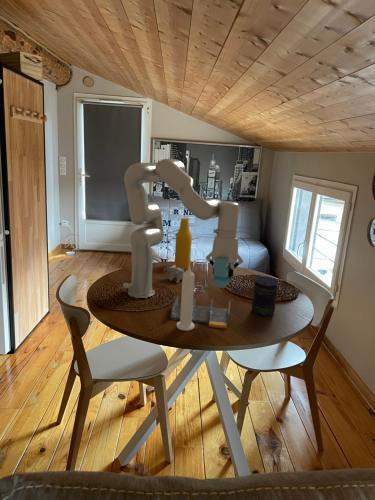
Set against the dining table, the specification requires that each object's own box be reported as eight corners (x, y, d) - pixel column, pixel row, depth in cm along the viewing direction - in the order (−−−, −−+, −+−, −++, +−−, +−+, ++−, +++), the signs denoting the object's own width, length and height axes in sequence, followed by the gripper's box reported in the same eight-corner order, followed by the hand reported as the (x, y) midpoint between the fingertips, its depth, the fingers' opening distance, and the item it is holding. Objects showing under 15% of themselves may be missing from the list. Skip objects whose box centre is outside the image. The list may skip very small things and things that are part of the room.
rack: (169, 321, 144) (170, 310, 142) (176, 305, 159) (177, 294, 158) (228, 328, 141) (229, 317, 140) (229, 311, 157) (230, 300, 155)
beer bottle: (192, 268, 210) (196, 219, 202) (179, 270, 206) (181, 220, 198) (185, 263, 218) (187, 216, 210) (171, 265, 213) (173, 217, 206)
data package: (223, 289, 140) (226, 260, 137) (212, 287, 142) (214, 258, 138) (231, 280, 151) (233, 252, 148) (220, 278, 153) (223, 251, 149)
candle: (176, 322, 144) (179, 262, 137) (193, 322, 144) (197, 263, 138) (176, 330, 137) (180, 268, 130) (195, 331, 138) (199, 269, 131)
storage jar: (255, 306, 163) (259, 275, 159) (276, 312, 159) (281, 280, 154) (247, 314, 155) (251, 281, 151) (269, 320, 150) (274, 287, 146)
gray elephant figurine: (182, 284, 185) (184, 270, 183) (159, 280, 187) (161, 266, 185) (185, 279, 194) (187, 265, 192) (164, 275, 195) (165, 261, 193)
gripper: (204, 233, 138) (200, 278, 143) (248, 237, 136) (244, 282, 141) (205, 229, 145) (202, 272, 150) (248, 233, 143) (243, 276, 148)
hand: (222, 276), depth 146 cm, fingers closed on data package, 5 cm apart
